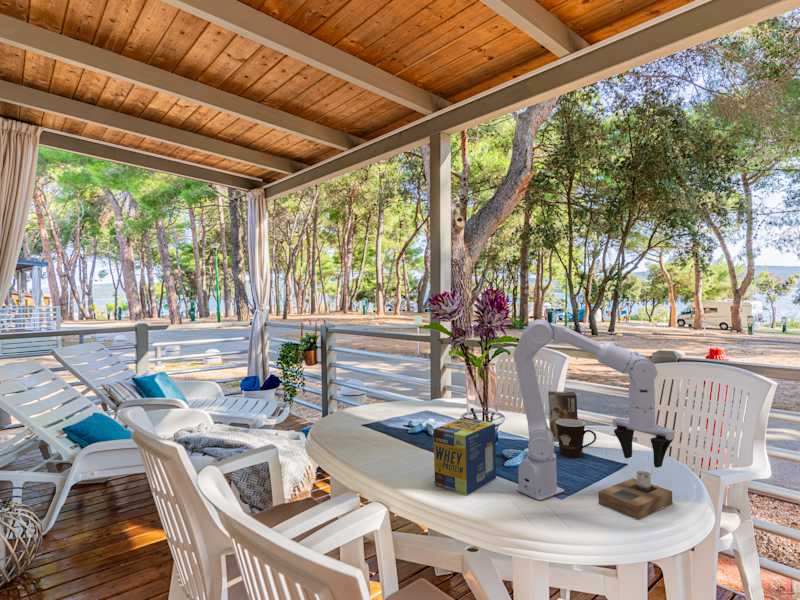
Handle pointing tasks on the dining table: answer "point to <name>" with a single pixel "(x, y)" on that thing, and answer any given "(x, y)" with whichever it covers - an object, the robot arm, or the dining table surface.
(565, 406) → the coffee box
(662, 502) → the block
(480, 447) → the protein box
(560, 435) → the coffee mug
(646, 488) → the pin
